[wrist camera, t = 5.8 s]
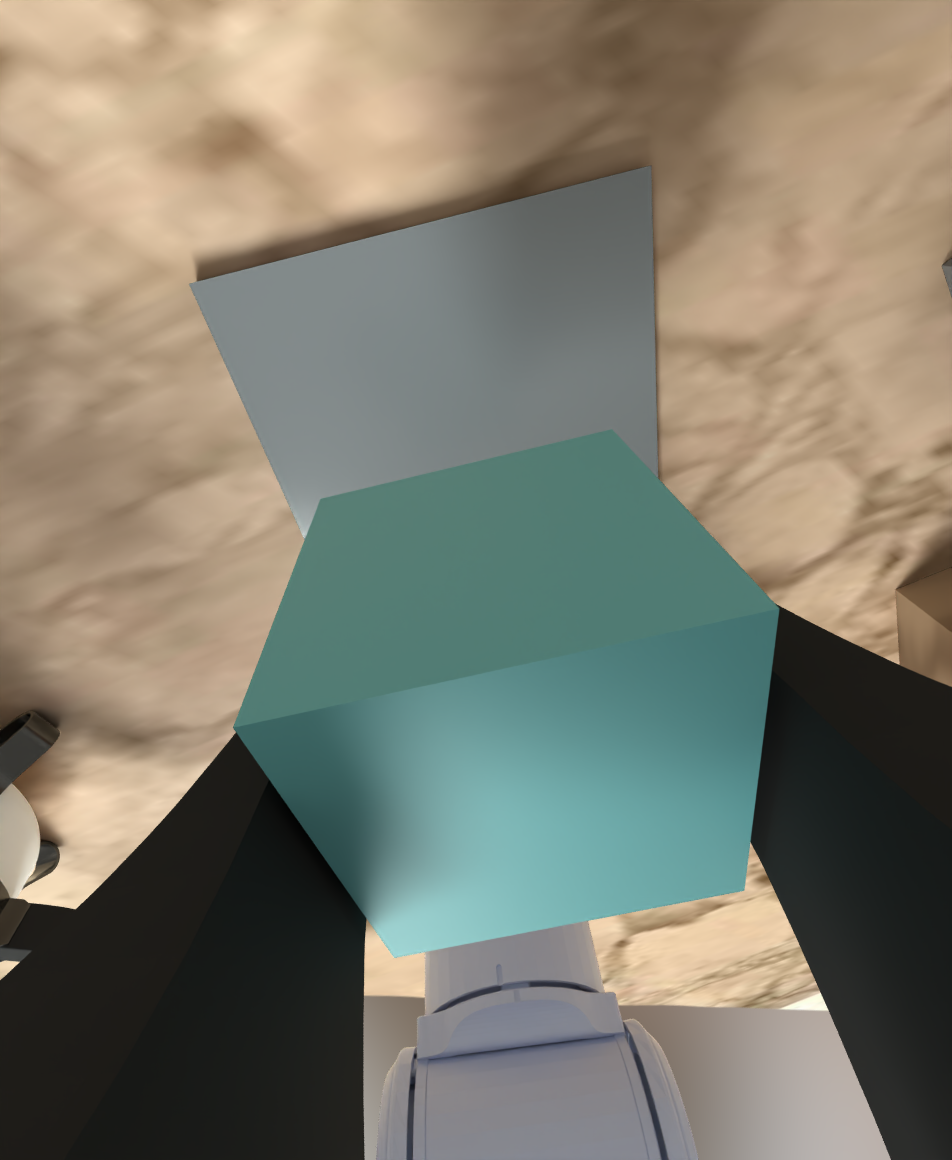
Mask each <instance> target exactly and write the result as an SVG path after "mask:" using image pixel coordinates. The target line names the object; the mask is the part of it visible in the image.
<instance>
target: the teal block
mask: <svg viewBox="0 0 952 1160" xmlns="http://www.w3.org/2000/svg"><path fill="white" fill-rule="evenodd" d="M778 616H779V608H778V606H777V605H776V604H775V603H774V602H773V601H772V600H771V599H770V598H769V597H768V596H767V595H766V594H765V593H764V591H763V590H762V589H761V588H760V587H759V586H758V585H757V584H756V583H755V582H754V581H753V580H752V579H751V578H750V576H749V575H748V574H747V573H746V572H745V571H744V570H743V569H742V568H741V567H740V566H739V565H738V564H737V563H736V561H735V560H734V559H733V558H732V557H731V556H730V555H729V554H728V553H727V552H726V551H725V550H724V549H723V548H722V546H721V545H720V544H719V543H718V542H717V541H716V540H715V539H714V538H713V537H712V536H711V535H710V534H709V533H708V531H707V530H706V529H705V528H704V527H703V526H702V525H701V524H700V523H699V522H698V521H697V520H696V519H695V518H694V516H693V515H692V514H691V513H690V512H689V511H688V510H687V509H686V508H685V507H684V506H683V505H682V504H681V503H680V501H679V500H678V499H677V498H676V497H675V496H674V495H673V494H672V493H671V492H670V491H669V490H668V489H667V488H666V486H665V485H664V484H663V483H662V482H661V481H660V480H659V479H658V478H657V477H656V476H655V475H654V474H653V473H652V471H651V470H650V469H649V468H648V467H647V466H646V465H645V464H644V463H643V462H642V461H641V460H640V459H639V457H638V456H637V455H636V454H635V453H634V452H633V451H632V450H631V449H630V448H629V447H628V446H627V445H626V444H625V442H624V441H623V440H622V439H621V438H620V437H619V436H618V435H617V434H616V433H615V432H614V431H613V430H612V429H611V430H606V431H602V432H598V433H594V434H590V435H585V436H581V437H577V438H573V439H569V440H564V441H560V442H556V443H552V444H548V445H544V446H539V447H535V448H531V449H527V450H523V451H518V452H514V453H510V454H506V455H502V456H497V457H493V458H489V459H485V460H481V461H477V462H472V463H468V464H464V465H460V466H456V467H451V468H447V469H443V470H439V471H435V472H431V473H426V474H422V475H418V476H414V477H410V478H405V479H401V480H397V481H393V482H389V483H384V484H380V485H376V486H372V487H368V488H364V489H359V490H355V491H351V492H347V493H343V494H338V495H334V496H330V497H326V498H322V499H320V501H319V504H318V507H317V509H316V512H315V514H314V517H313V520H312V522H311V525H310V527H309V530H308V533H307V535H306V538H305V541H304V543H303V546H302V548H301V551H300V554H299V556H298V559H297V562H296V564H295V567H294V569H293V572H292V575H291V577H290V580H289V583H288V585H287V588H286V590H285V593H284V596H283V598H282V601H281V603H280V606H279V609H278V611H277V614H276V617H275V619H274V622H273V624H272V627H271V630H270V632H269V635H268V638H267V640H266V643H265V645H264V648H263V651H262V653H261V656H260V658H259V661H258V664H257V666H256V669H255V672H254V674H253V677H252V679H251V682H250V685H249V687H248V690H247V693H246V695H245V698H244V700H243V703H242V706H241V708H240V711H239V714H238V716H237V719H236V721H235V724H234V727H233V728H234V730H235V731H236V733H237V734H238V735H239V737H240V738H241V740H242V741H243V743H244V744H245V745H246V747H247V748H248V750H249V751H250V753H251V754H252V755H253V757H254V758H255V760H256V761H257V763H258V764H259V765H260V767H261V768H262V770H263V771H264V773H265V774H266V775H267V777H268V778H269V780H270V781H271V783H272V784H273V785H274V787H275V788H276V790H277V791H278V793H279V794H280V795H281V797H282V798H283V800H284V801H285V803H286V804H287V805H288V807H289V808H290V810H291V811H292V813H293V814H294V815H295V817H296V818H297V820H298V821H299V823H300V824H301V825H302V827H303V828H304V830H305V831H306V833H307V834H308V835H309V837H310V838H311V840H312V841H313V843H314V844H315V845H316V847H317V848H318V850H319V851H320V853H321V854H322V855H323V857H324V858H325V860H326V861H327V863H328V864H329V865H330V867H331V868H332V870H333V871H334V873H335V874H336V875H337V877H338V878H339V880H340V881H341V883H342V884H343V885H344V887H345V888H346V890H347V891H348V893H349V894H350V895H351V897H352V898H353V900H354V901H355V903H356V904H357V905H358V907H359V908H360V910H361V911H362V913H363V914H364V915H365V917H366V918H367V920H368V921H369V923H370V924H371V925H372V927H373V928H374V930H375V931H376V933H377V934H378V935H379V937H380V938H381V940H382V941H383V943H384V944H385V945H386V947H387V948H388V950H389V951H390V953H391V954H392V955H393V957H394V958H397V957H402V956H407V955H412V954H417V953H423V952H428V951H433V950H438V949H443V948H449V947H454V946H459V945H464V944H469V943H475V942H480V941H485V940H490V939H495V938H501V937H506V936H511V935H516V934H521V933H527V932H532V931H537V930H542V929H547V928H553V927H558V926H563V925H568V924H573V923H579V922H584V921H589V920H594V919H599V918H605V917H610V916H615V915H620V914H625V913H631V912H636V911H641V910H646V909H651V908H657V907H662V906H667V905H672V904H677V903H683V902H688V901H693V900H698V899H703V898H709V897H714V896H719V895H724V894H729V893H735V892H740V891H744V888H745V880H746V872H747V864H748V856H749V848H750V840H751V832H752V824H753V816H754V808H755V800H756V792H757V784H758V776H759V768H760V760H761V752H762V744H763V736H764V728H765V720H766V712H767V704H768V696H769V688H770V680H771V672H772V664H773V656H774V648H775V640H776V632H777V624H778Z"/></svg>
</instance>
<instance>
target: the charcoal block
mask: <svg viewBox="0 0 952 1160" xmlns="http://www.w3.org/2000/svg"><path fill="white" fill-rule="evenodd" d="M942 268H943V271H944V275H945V278H946V281H947V284H948V287H949V290H950V293H951V297H952V258H951V259H950V260H949V261H947V262H946V263H945V264H943V265H942Z"/></svg>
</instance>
